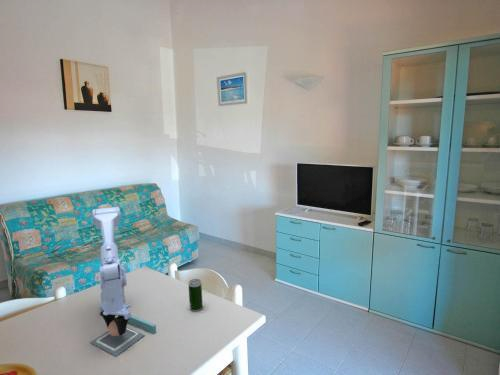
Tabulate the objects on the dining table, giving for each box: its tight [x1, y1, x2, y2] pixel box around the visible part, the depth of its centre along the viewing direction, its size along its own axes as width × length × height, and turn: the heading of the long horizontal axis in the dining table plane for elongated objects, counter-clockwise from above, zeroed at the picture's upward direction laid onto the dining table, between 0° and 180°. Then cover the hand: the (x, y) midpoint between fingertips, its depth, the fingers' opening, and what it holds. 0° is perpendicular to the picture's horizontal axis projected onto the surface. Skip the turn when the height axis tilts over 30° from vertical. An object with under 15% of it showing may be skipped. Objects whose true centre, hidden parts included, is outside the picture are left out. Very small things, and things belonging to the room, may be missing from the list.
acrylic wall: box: [117, 314, 157, 335], centre depth 118 cm, size 20×1×3 cm, turn 60°
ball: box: [107, 320, 119, 336], centre depth 109 cm, size 6×6×6 cm
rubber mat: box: [89, 327, 146, 358], centre depth 110 cm, size 14×12×1 cm
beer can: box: [188, 278, 203, 312], centre depth 127 cm, size 5×5×12 cm
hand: (116, 331), depth 109 cm, fingers closed on ball, 5 cm apart
